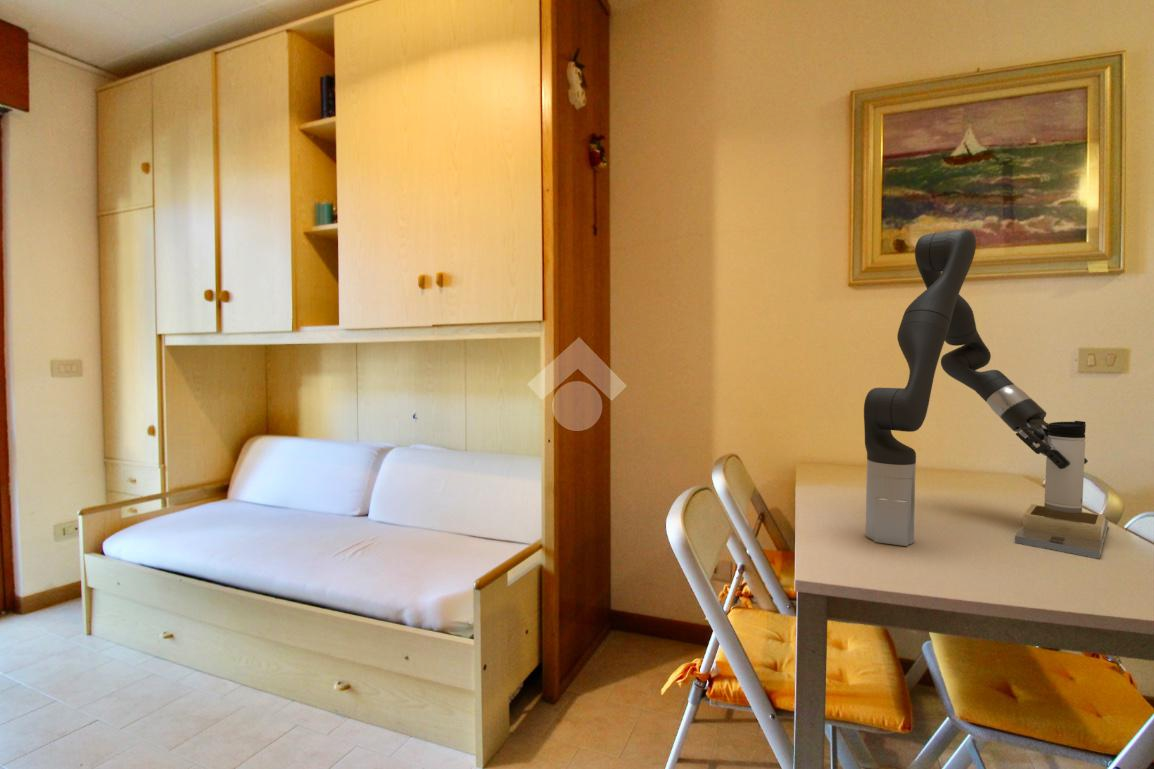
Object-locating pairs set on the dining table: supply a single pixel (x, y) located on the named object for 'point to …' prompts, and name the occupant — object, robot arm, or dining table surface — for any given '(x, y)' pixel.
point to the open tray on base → (1063, 531)
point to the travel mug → (1066, 482)
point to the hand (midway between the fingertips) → (1074, 465)
